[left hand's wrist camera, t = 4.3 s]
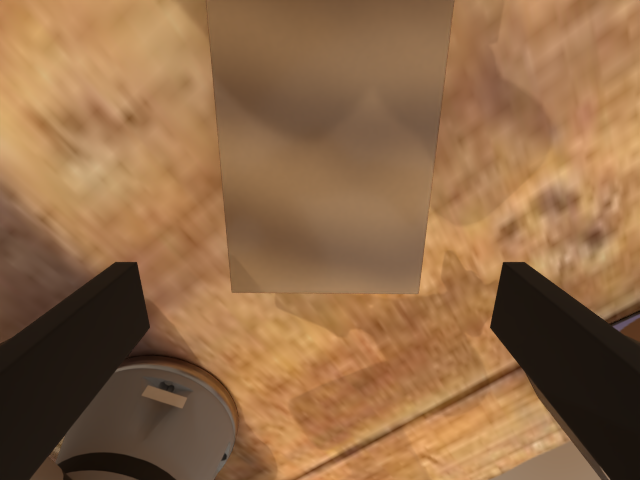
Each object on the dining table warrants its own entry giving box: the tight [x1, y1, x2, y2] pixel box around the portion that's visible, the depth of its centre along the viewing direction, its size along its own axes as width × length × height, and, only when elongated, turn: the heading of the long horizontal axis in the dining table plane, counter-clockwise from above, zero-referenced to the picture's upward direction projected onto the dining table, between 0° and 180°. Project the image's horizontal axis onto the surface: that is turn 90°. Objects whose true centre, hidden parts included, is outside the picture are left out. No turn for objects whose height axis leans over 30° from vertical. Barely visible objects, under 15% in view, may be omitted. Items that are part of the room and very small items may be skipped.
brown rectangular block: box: [206, 0, 454, 294], centre depth 21 cm, size 19×11×10 cm, turn 179°
